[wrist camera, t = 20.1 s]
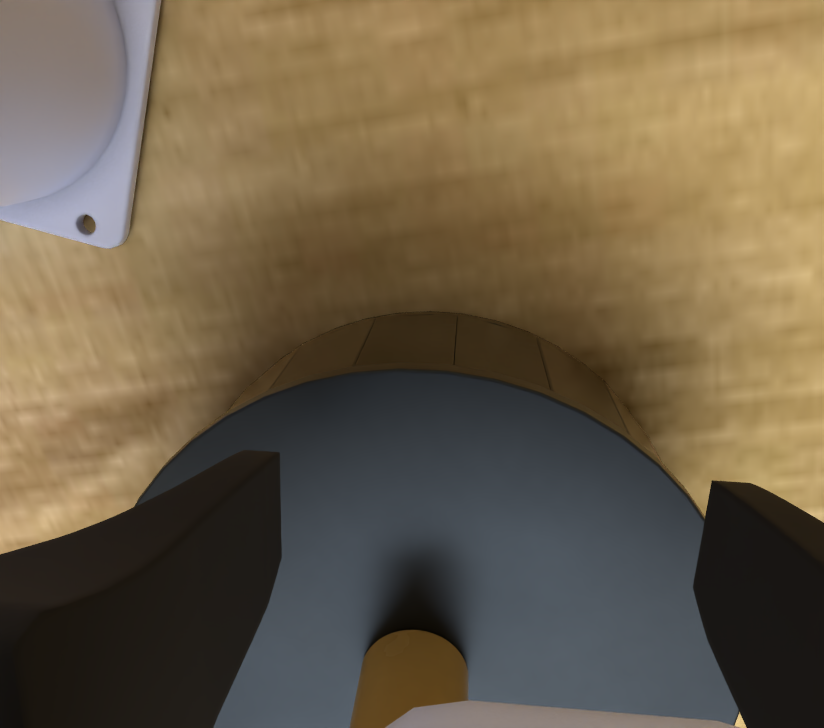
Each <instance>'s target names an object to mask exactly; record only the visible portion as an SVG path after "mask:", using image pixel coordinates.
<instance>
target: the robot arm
mask: <svg viewBox="0 0 824 728" xmlns="http://www.w3.org/2000/svg"><path fill="white" fill-rule="evenodd" d="M160 6H161V0H0V220H2V221H6V222H10V223H13V224H17V225H21V226H24V227H28V228H32V229H35V230H39V231H43V232H46V233H50V234H53V235H57V236H61V237H64V238H68V239H72V240H75V241H79V242H83V243H86V244H90V245H94V246H97V247H101V248H108V249H111V248H114V247H116V246H119V245H122V244H123V243H124V242H125V241H126V240H127V237H128V234H129V229H130V222H131V215H132V207H133V200H134V193H135V186H136V179H137V171H138V164H139V157H140V150H141V143H142V135H143V128H144V121H145V114H146V107H147V100H148V92H149V85H150V78H151V71H152V64H153V56H154V49H155V42H156V35H157V28H158V20H159V13H160ZM85 215H89V216H90V217H92V218H93V220H94V221H95V224H96V229H95V231H94V233H92V232H90V231H88V230H87V229H86V227H85V226H84V222H83V219H84V217H85ZM281 558H282V542H281V490H280V452H269V451H254V450H243V451H240V452H238V453H236V454H234V455H232V456H230V457H228V458H226V459H224V460H222V461H220V462H219V463H217V464H215V465H213V466H211V467H210V468H208V469H206V470H204V471H202V472H201V473H199V474H197V475H195V476H193V477H192V478H190V479H188V480H186V481H184V482H183V483H181V484H179V485H177V486H175V487H174V488H172V489H170V490H168V491H166V492H164V493H162V494H160V495H158V496H156V497H154V498H152V499H150V500H148V501H146V502H144V503H142V504H140V505H138V506H136V507H133V508H131V509H129V510H127V511H125V512H123V513H121V514H119V515H116V516H114V517H112V518H109V519H107V520H105V521H102V522H100V523H97V524H94V525H92V526H89V527H87V528H84V529H81V530H79V531H76V532H73V533H70V534H68V535H65V536H62V537H59V538H55V539H52V540H49V541H45V542H42V543H38V544H35V545H32V546H28V547H25V548H21V549H18V550H15V551H11V552H8V553H4V554H0V728H214V725H215V723H216V720H217V718H218V715H219V713H220V711H221V708H222V706H223V704H224V702H225V700H226V698H227V695H228V693H229V691H230V689H231V687H232V684H233V682H234V680H235V678H236V676H237V673H238V671H239V669H240V667H241V665H242V662H243V660H244V658H245V656H246V654H247V652H248V649H249V647H250V645H251V643H252V641H253V638H254V636H255V634H256V632H257V629H258V627H259V625H260V623H261V620H262V618H263V616H264V614H265V611H266V609H267V607H268V604H269V600H270V597H271V594H272V590H273V587H274V584H275V580H276V576H277V573H278V569H279V566H280V562H281ZM693 591H694V594H695V598H696V602H697V606H698V610H699V613H700V617H701V620H702V624H703V627H704V630H705V634H706V637H707V640H708V642H709V645H710V647H711V649H712V652H713V654H714V656H715V659H716V661H717V663H718V665H719V668H720V670H721V672H722V674H723V677H724V679H725V681H726V683H727V685H728V688H729V690H730V692H731V694H732V696H733V699H734V701H735V703H736V705H737V707H738V709H739V712H740V714H741V716H742V718H743V720H744V723H745V725H746V727H747V728H824V523H823V522H822V521H820V520H818V519H816V518H815V517H813V516H811V515H810V514H808V513H806V512H804V511H803V510H801V509H799V508H798V507H796V506H794V505H792V504H791V503H789V502H787V501H785V500H784V499H782V498H780V497H778V496H776V495H775V494H773V493H771V492H769V491H767V490H765V489H763V488H761V487H759V486H756V485H754V484H751V483H741V482H726V481H712V483H711V489H710V494H709V500H708V505H707V511H706V516H705V522H704V527H703V533H702V538H701V544H700V549H699V555H698V560H697V566H696V572H695V577H694V583H693ZM385 728H739V727H736V726H733V725H729V724H726V723H723V722H720V721H713V720H701V719H689V718H677V717H665V716H653V715H640V714H628V713H616V712H604V711H592V710H580V709H568V708H556V707H544V706H532V705H520V704H508V703H496V702H484V701H471V700H469V701H461V702H453V703H446V704H438V705H430V706H423V707H415V708H413V709H411V710H410V711H408V712H407V713H405V714H404V715H402V716H401V717H400V718H398V719H397V720H395V721H394V722H392V723H391V724H389V725H388V726H387V727H385Z"/></svg>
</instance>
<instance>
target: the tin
mask: <svg viewBox="0 0 824 728" xmlns="http://www.w3.org/2000/svg"><path fill="white" fill-rule="evenodd" d="M396 362H410V363H433V364H450V365H456V366H462V367H468V368H474V369H480V370H486V371H491V372H496V373H499V374H503V375H506V376H509V377H513V378H516V379H519V380H523V381H526V382H529V383H533V384H536V385H539V386H542V387H544V388H546V389H549V390H551V391H553V392H555V393H558V394H560V395H562V396H564V397H567V398H569V399H571V400H573V401H576V402H578V403H580V404H582V405H584V406H586V407H587V408H589V409H590V410H592V411H594V412H595V413H597V414H599V415H600V416H602V417H604V418H605V419H607V420H609V421H610V422H612V423H613V424H615V425H617V426H618V427H620V428H622V429H623V430H624V431H625V432H626V433H628V434H629V435H630V436H631V437H633V438H634V439H635V440H636V441H638V442H639V443H640V444H641V445H642V446H644V447H645V448H646V449H647V450H649V451H650V452H651V453H652V454H654V455H655V456H656V457H657V458H658V459H659V460H660V458H659V456H658V454H657V452H656V450H655V448H654V446H653V445H652V443H651V441H650V439H649V437H648V436H647V435H646V433H645V432H644V431H643V429H642V428H641V427H640V426H639V424H638V423H637V422H636V420H635V419H634V418H633V416H632V415H631V413H630V412H629V410H628V408H627V407H626V406H625V405H624V404H623V403H622V401H621V400H620V399H619V398H618V397H617V395H616V394H615V393H614V392H613V391H612V390H611V388H610V387H609V386H608V384H607V383H606V382H605V381H604V380H602V378H600V377H599V376H597V375H596V374H595V373H594V372H592V371H591V370H590V369H589V368H588V367H587V366H586V365H585V364H583V363H582V362H580V361H579V360H577V359H576V358H574V357H573V356H571V355H570V354H568V353H567V352H565V351H564V350H562V349H561V348H559V347H558V346H556V345H554V344H552V343H550V342H548V341H546V340H544V339H542V338H540V337H538V336H536V335H534V334H532V333H530V332H528V331H525V330H522V329H519V328H516V327H514V326H511V325H508V324H505V323H502V322H499V321H496V320H491V319H486V318H481V317H476V316H472V315H467V314H459V313H446V312H433V311H427V312H407V313H395V314H389V315H384V316H378V317H373V318H367V319H363V320H360V321H357V322H354V323H351V324H348V325H344V326H341V327H338V328H335V329H333V330H331V331H329V332H327V333H325V334H322V335H320V336H318V337H316V338H314V339H312V340H310V341H308V342H305V343H303V345H300V346H299V347H297V348H296V349H295V350H294V351H292V352H291V353H289V354H287V355H286V356H284V357H283V358H281V359H280V360H279V361H278V362H277V363H276V364H275V365H273V366H272V367H271V368H270V369H269V370H268V371H266V372H265V373H264V374H263V375H262V376H261V377H260V378H259V379H257V380H256V381H255V382H254V383H252V384H251V385H250V386H249V387H247V388H246V389H245V391H244V392H243V393H242V394H241V395H240V397H239V398H238V399H237V400H236V402H235V403H234V404H233V405H232V407H231V408H230V409H229V410H231V409H232V408H234V407H236V406H238V405H240V404H242V403H244V402H246V401H248V400H250V399H252V398H254V397H256V396H258V395H260V394H262V393H264V392H265V391H267V390H270V389H273V388H275V387H278V386H281V385H284V384H287V383H290V382H292V381H295V380H298V379H301V378H304V377H307V376H309V375H314V374H318V373H323V372H328V371H333V370H337V369H342V368H347V367H351V366H359V365H371V364H383V363H396ZM229 410H228V411H229ZM660 461H661V460H660ZM661 462H662V461H661ZM662 464H663V463H662Z"/></svg>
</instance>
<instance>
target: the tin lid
mask: <svg viewBox="0 0 824 728" xmlns="http://www.w3.org/2000/svg"><path fill="white" fill-rule="evenodd" d="M243 450H254V451H269V452H280V490H281V542H282V558H281V562H280V566H279V569H278V573H277V576H276V580H275V584H274V587H273V590H272V594H271V597H270V600H269V604H268V607H267V609H266V611H265V614H264V616H263V618H262V620H261V623H260V625H259V627H258V629H257V632H256V634H255V636H254V638H253V641H252V643H251V645H250V647H249V649H248V652H247V654H246V656H245V658H244V660H243V662H242V665H241V667H240V669H239V671H238V673H237V676H236V678H235V680H234V682H233V684H232V687H231V689H230V691H229V693H228V695H227V698H226V700H225V702H224V704H223V706H222V708H221V711H220V713H219V715H218V718H217V720H216V723H215V725H214V728H385V727H387V726H388V725H389V724H391V723H392V722H394V721H395V720H397V719H398V718H400V717H401V716H402V715H404V714H405V713H407V712H408V711H410V710H411V709H413V708H415V707H423V706H430V705H438V704H446V703H453V702H461V701H469V700H471V701H484V702H496V703H508V704H520V705H532V706H544V707H556V708H568V709H580V710H592V711H604V712H616V713H628V714H640V715H653V716H665V717H677V718H689V719H701V720H713V721H720V722H723V723H726V724H729V725H733V726H734V725H735V723H736V720H737V717H738V714H739V709H738V707H737V705H736V703H735V701H734V699H733V696H732V694H731V692H730V690H729V688H728V685H727V683H726V681H725V679H724V677H723V674H722V672H721V670H720V668H719V665H718V663H717V661H716V659H715V656H714V654H713V652H712V649H711V647H710V645H709V642H708V640H707V637H706V634H705V630H704V627H703V624H702V620H701V617H700V613H699V610H698V606H697V602H696V598H695V594H694V591H693V583H694V577H695V572H696V566H697V560H698V555H699V549H700V544H701V538H702V533H703V527H704V522H705V516H704V515H703V513H702V512H701V510H700V509H699V507H698V506H697V504H696V503H695V502H694V500H693V499H692V497H691V496H690V494H689V493H688V491H687V490H686V489H685V487H684V486H683V485H682V484H681V483H680V482H679V481H678V480H677V479H676V478H675V476H674V475H673V474H672V473H671V472H670V471H669V470H668V469H667V468H666V467H665V466H664V465H663V464H662V462H661V461H660V460H659V459H658V458H657V457H656V456H655V455H654V454H652V453H651V452H650V451H649V450H647V449H646V448H645V447H644V446H642V445H641V444H640V443H639V442H638V441H636V440H635V439H634V438H633V437H631V436H630V435H629V434H628V433H626V432H625V431H624V430H623V429H622V428H620V427H618V426H617V425H615V424H613V423H612V422H610V421H609V420H607V419H605V418H604V417H602V416H600V415H599V414H597V413H595V412H594V411H592V410H590V409H589V408H587V407H586V406H584V405H582V404H580V403H578V402H576V401H573V400H571V399H569V398H567V397H564V396H562V395H560V394H558V393H555V392H553V391H551V390H549V389H546V388H544V387H542V386H539V385H536V384H533V383H529V382H526V381H523V380H519V379H516V378H513V377H509V376H506V375H503V374H499V373H496V372H491V371H486V370H480V369H474V368H468V367H462V366H456V365H450V364H433V363H410V362H396V363H383V364H371V365H359V366H351V367H347V368H342V369H337V370H333V371H328V372H323V373H318V374H314V375H309V376H307V377H304V378H301V379H298V380H295V381H292V382H290V383H287V384H284V385H281V386H278V387H275V388H273V389H270V390H267V391H265V392H264V393H262V394H260V395H258V396H256V397H254V398H252V399H250V400H248V401H246V402H244V403H242V404H240V405H238V406H236V407H234V408H232V409H231V410H229V411H228V412H226V413H225V414H223V415H222V416H221V417H219V418H218V419H216V420H215V421H214V422H212V423H211V424H209V425H208V426H207V427H205V428H204V429H202V430H201V431H199V432H198V433H197V434H196V435H195V436H194V437H193V438H192V439H191V440H189V441H188V442H187V443H186V444H185V445H184V446H183V447H182V448H181V449H180V450H179V451H178V452H177V453H176V454H175V455H174V456H173V457H172V458H171V459H170V460H169V461H168V462H167V463H166V464H165V465H164V466H163V468H162V469H161V470H160V471H159V473H158V474H157V475H156V477H155V478H154V479H153V481H152V482H151V483H150V484H149V486H148V487H147V488H146V490H145V491H144V492H143V494H142V495H141V496H140V497H139V499H138V501H137V503H136V504H135V506H134V507H136V506H138V505H140V504H142V503H144V502H146V501H148V500H150V499H152V498H154V497H156V496H158V495H160V494H162V493H164V492H166V491H168V490H170V489H172V488H174V487H175V486H177V485H179V484H181V483H183V482H184V481H186V480H188V479H190V478H192V477H193V476H195V475H197V474H199V473H201V472H202V471H204V470H206V469H208V468H210V467H211V466H213V465H215V464H217V463H219V462H220V461H222V460H224V459H226V458H228V457H230V456H232V455H234V454H236V453H238V452H240V451H243Z"/></svg>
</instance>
